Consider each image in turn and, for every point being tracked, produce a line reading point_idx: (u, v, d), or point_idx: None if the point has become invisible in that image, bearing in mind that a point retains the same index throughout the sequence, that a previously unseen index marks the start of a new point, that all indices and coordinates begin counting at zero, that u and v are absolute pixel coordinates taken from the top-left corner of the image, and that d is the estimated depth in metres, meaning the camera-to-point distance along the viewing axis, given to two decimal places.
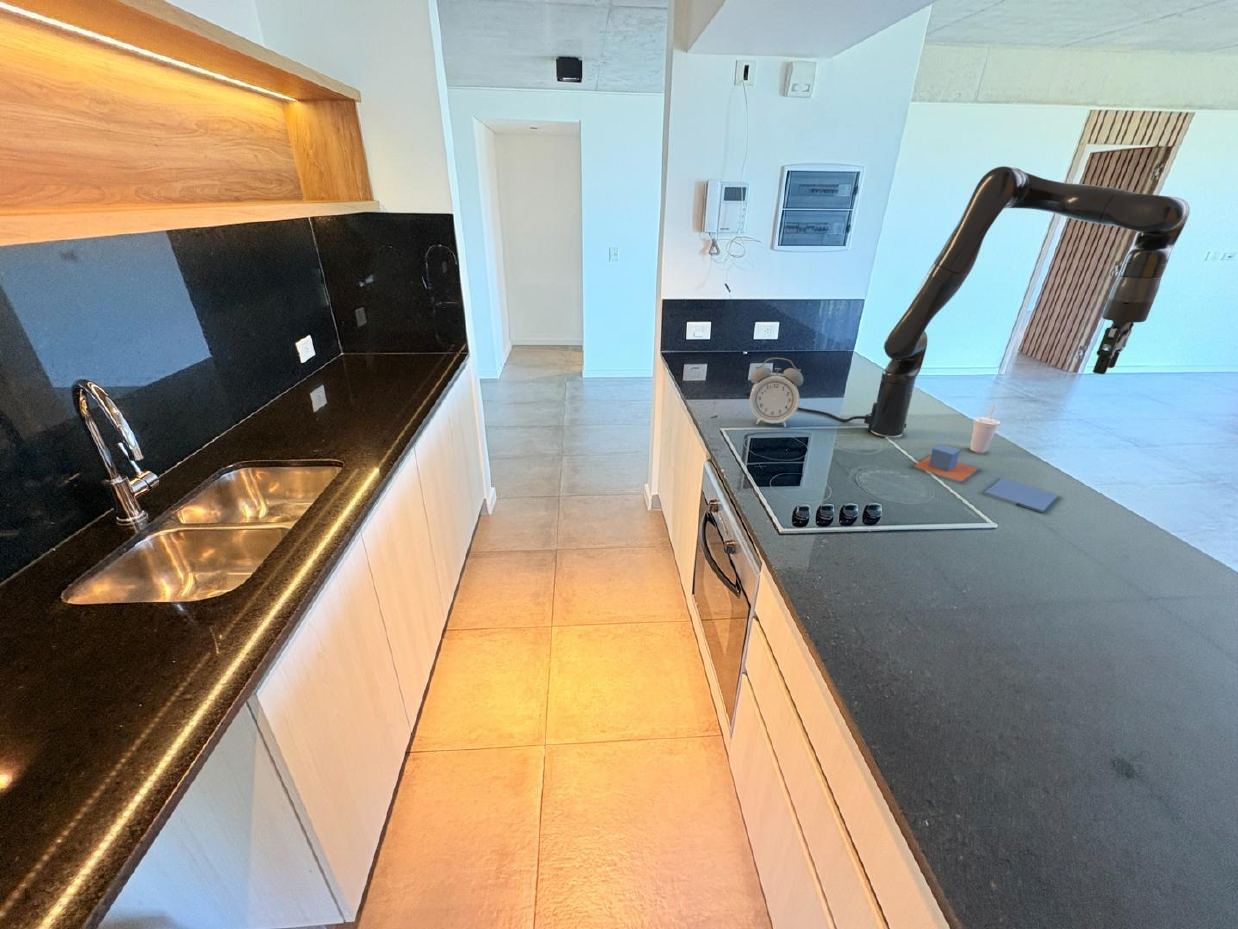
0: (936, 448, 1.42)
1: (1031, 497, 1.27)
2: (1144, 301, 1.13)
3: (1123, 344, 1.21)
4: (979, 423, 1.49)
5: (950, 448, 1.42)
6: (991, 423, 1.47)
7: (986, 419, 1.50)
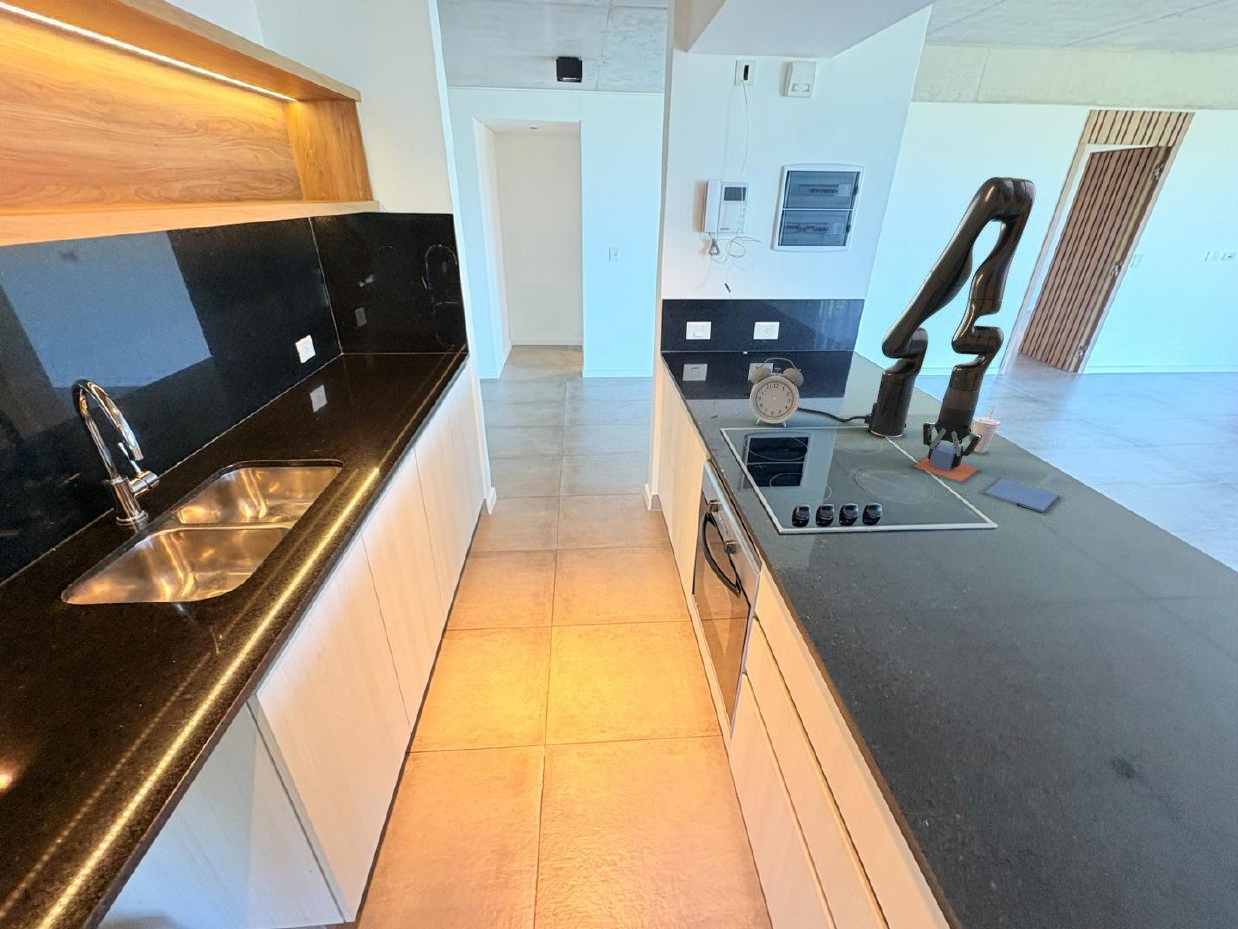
0: (936, 448, 1.42)
1: (1031, 497, 1.27)
2: (943, 404, 1.36)
3: None
4: (979, 423, 1.49)
5: (950, 448, 1.42)
6: (991, 423, 1.47)
7: (986, 419, 1.50)
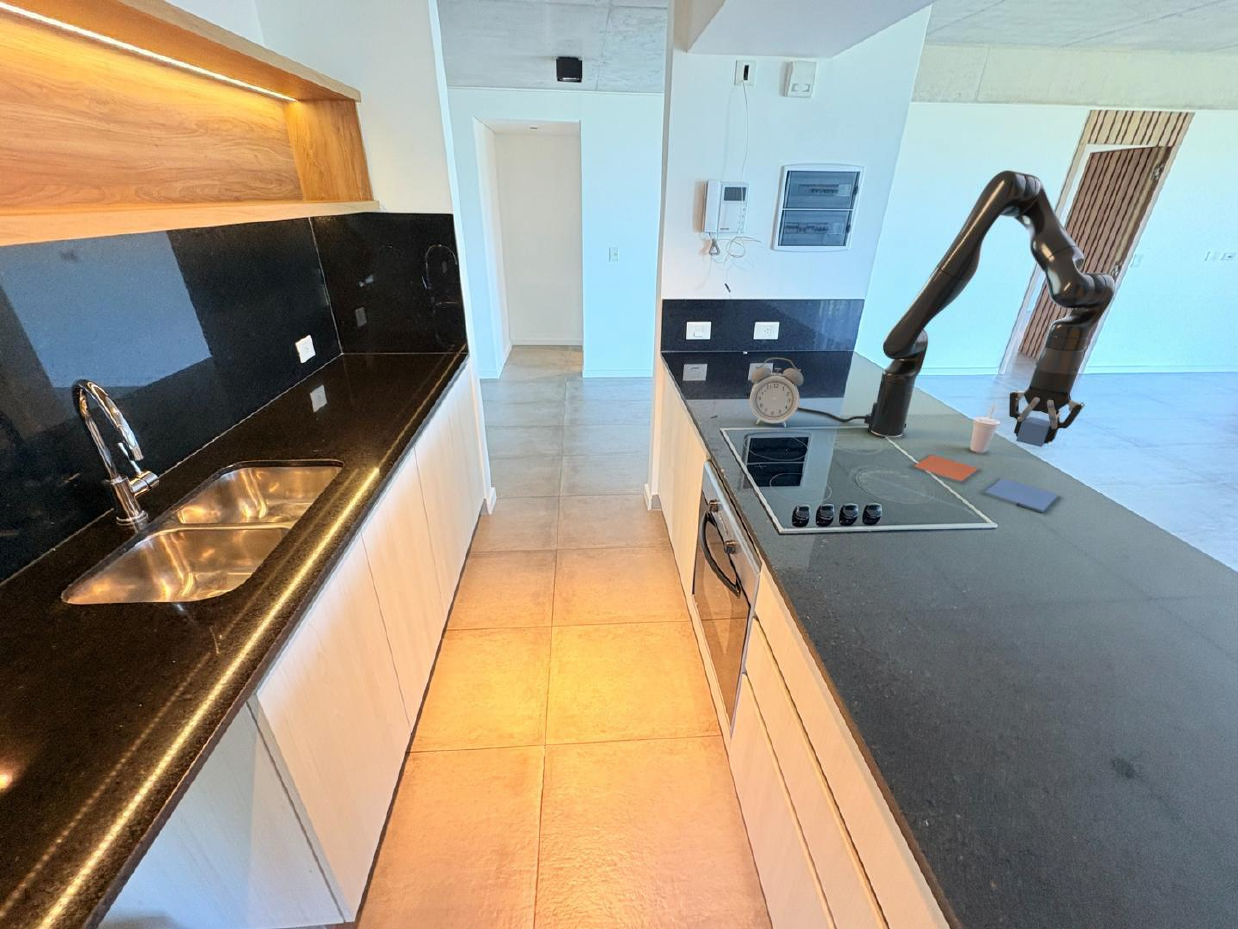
0: (1026, 420, 1.23)
1: (1031, 497, 1.27)
2: (1038, 368, 1.18)
3: None
4: (979, 423, 1.49)
5: (1041, 420, 1.23)
6: (991, 423, 1.47)
7: (986, 419, 1.50)
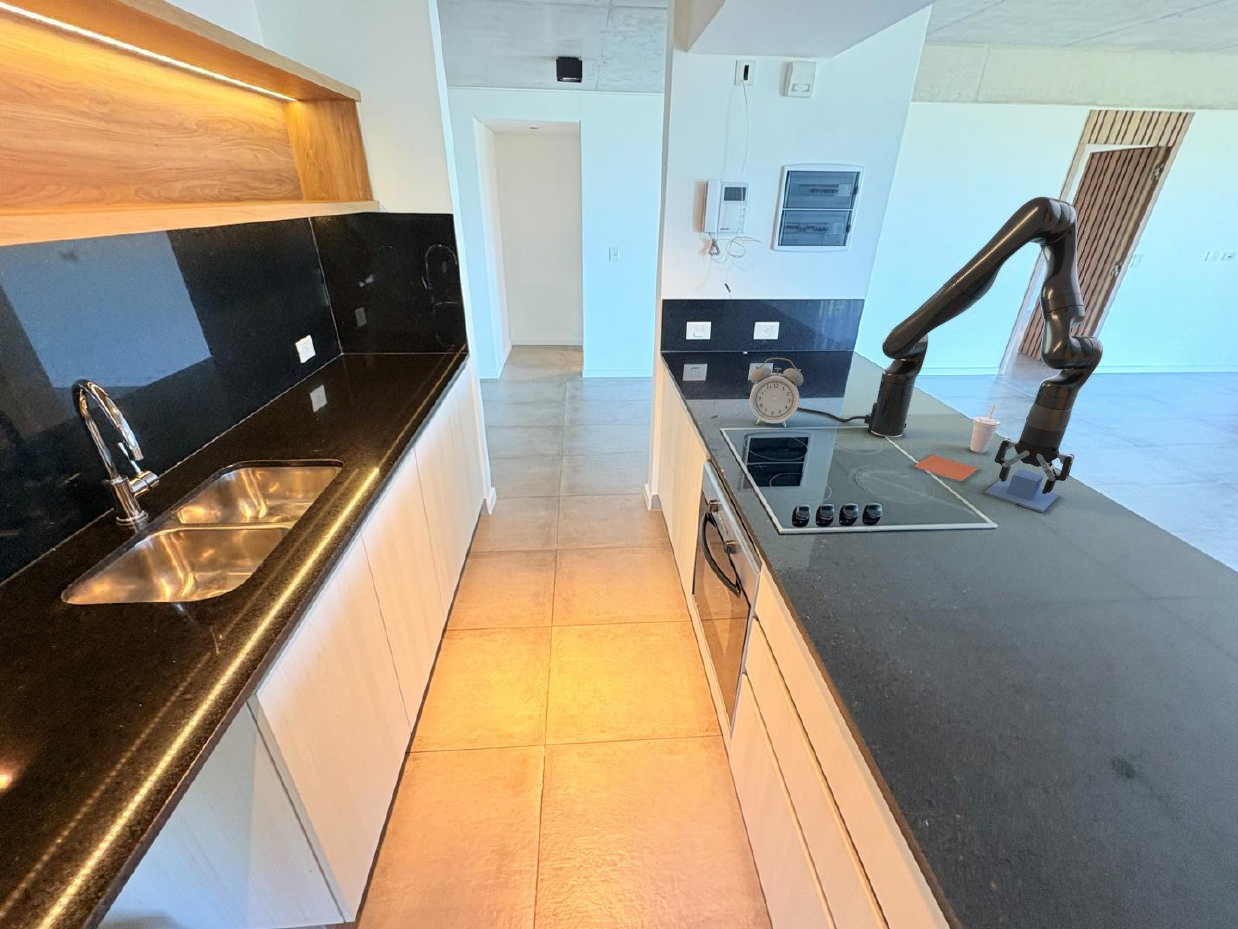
0: (1017, 473, 1.27)
1: None
2: (1028, 424, 1.22)
3: None
4: (979, 423, 1.49)
5: (1031, 473, 1.27)
6: (991, 423, 1.47)
7: (986, 419, 1.50)
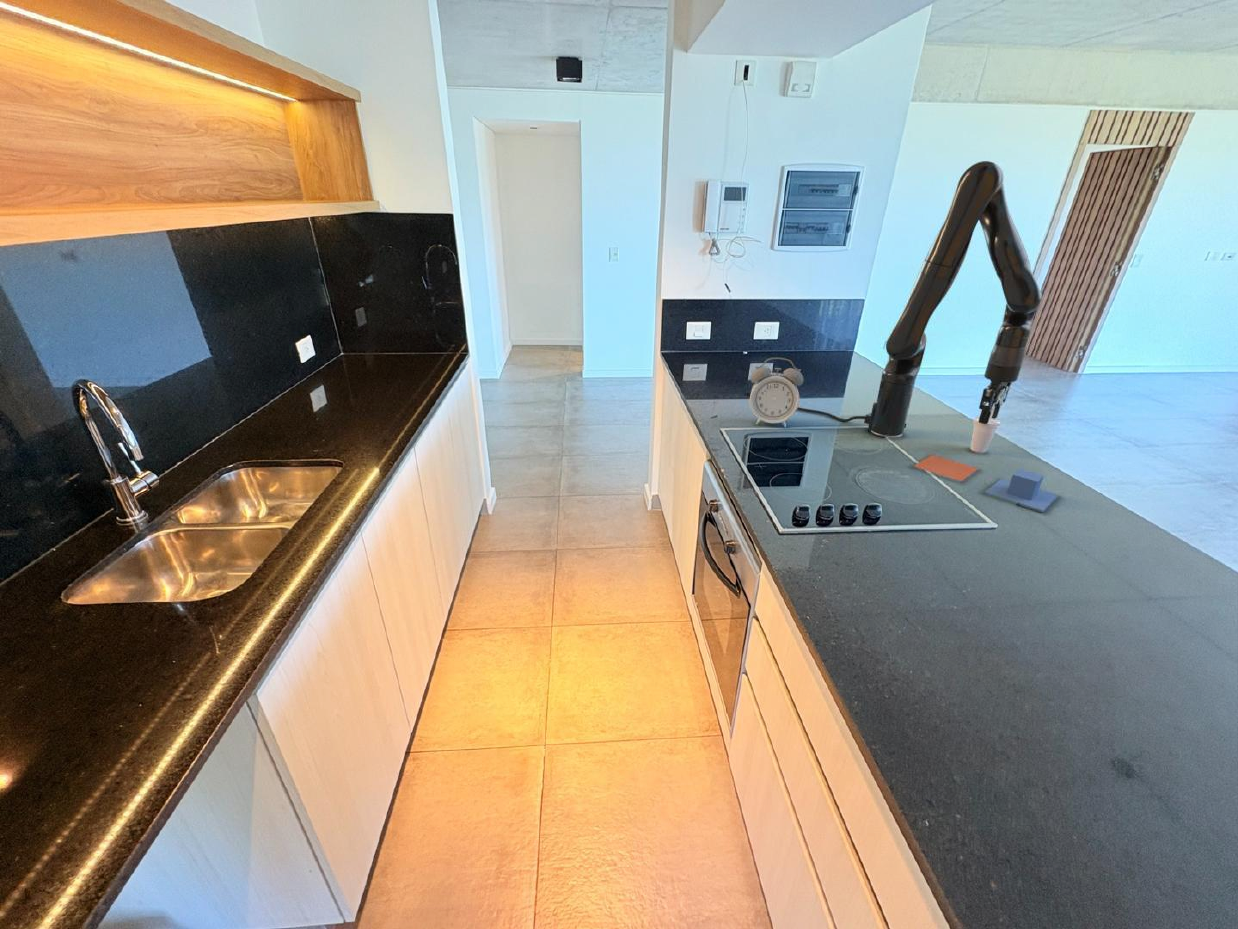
0: (1017, 473, 1.27)
1: None
2: (1012, 366, 1.39)
3: (1002, 399, 1.47)
4: (979, 423, 1.49)
5: (1031, 473, 1.27)
6: (991, 423, 1.48)
7: None
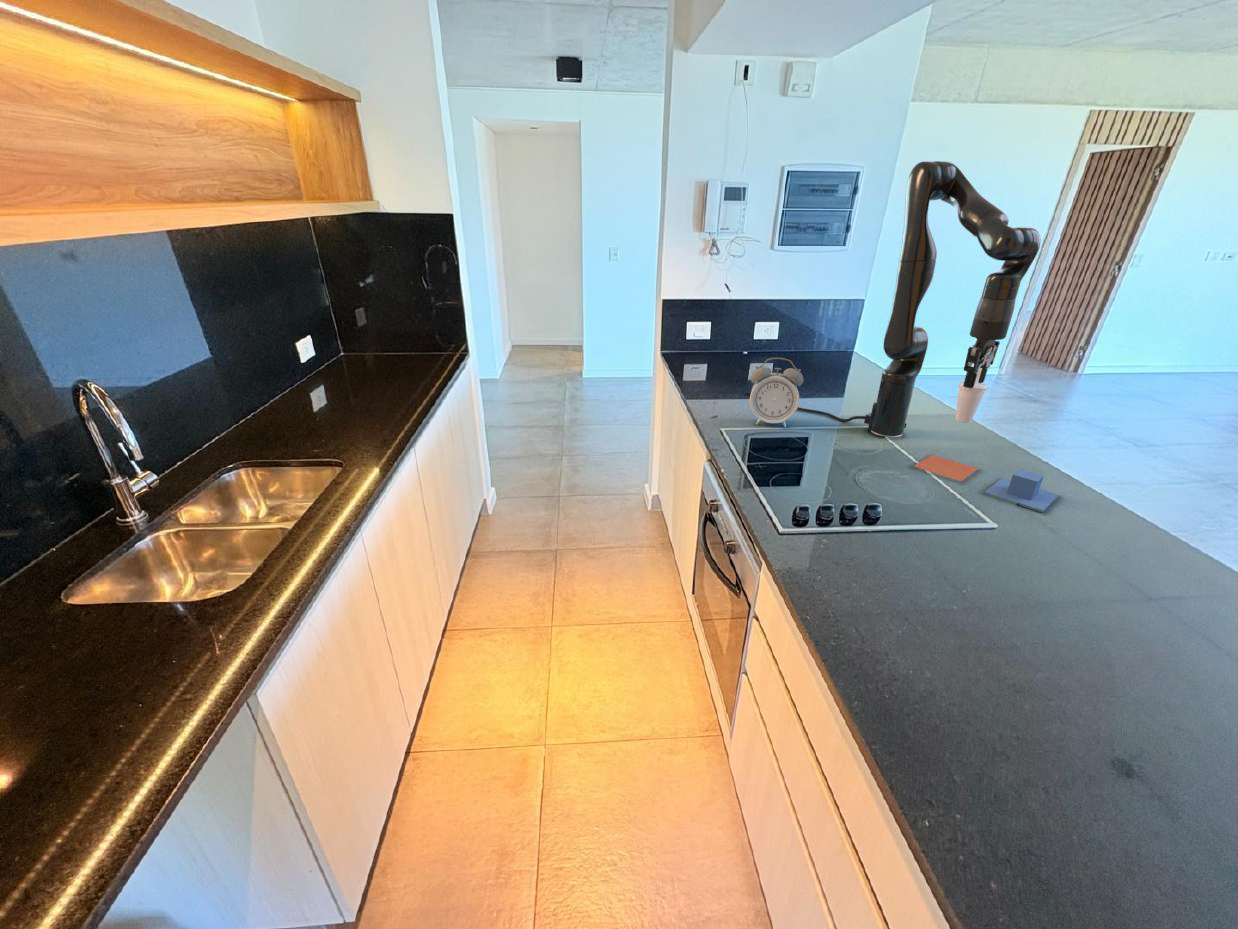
0: (1017, 473, 1.27)
1: None
2: (1000, 321, 1.24)
3: (989, 360, 1.32)
4: (965, 387, 1.34)
5: (1031, 473, 1.27)
6: (978, 387, 1.33)
7: None
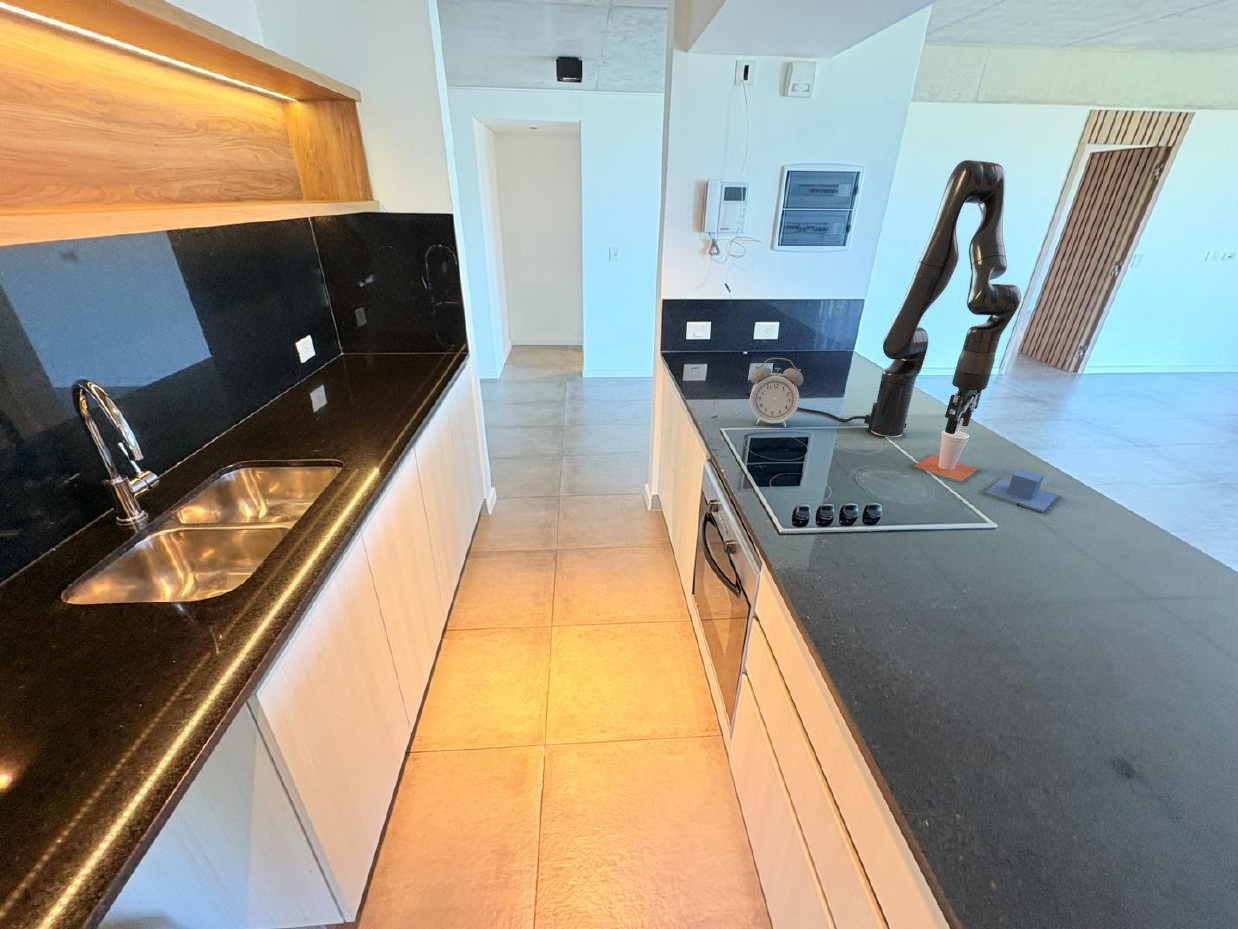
0: (1017, 473, 1.27)
1: None
2: (981, 373, 1.28)
3: (972, 407, 1.36)
4: (947, 437, 1.38)
5: (1031, 473, 1.27)
6: (959, 437, 1.36)
7: None
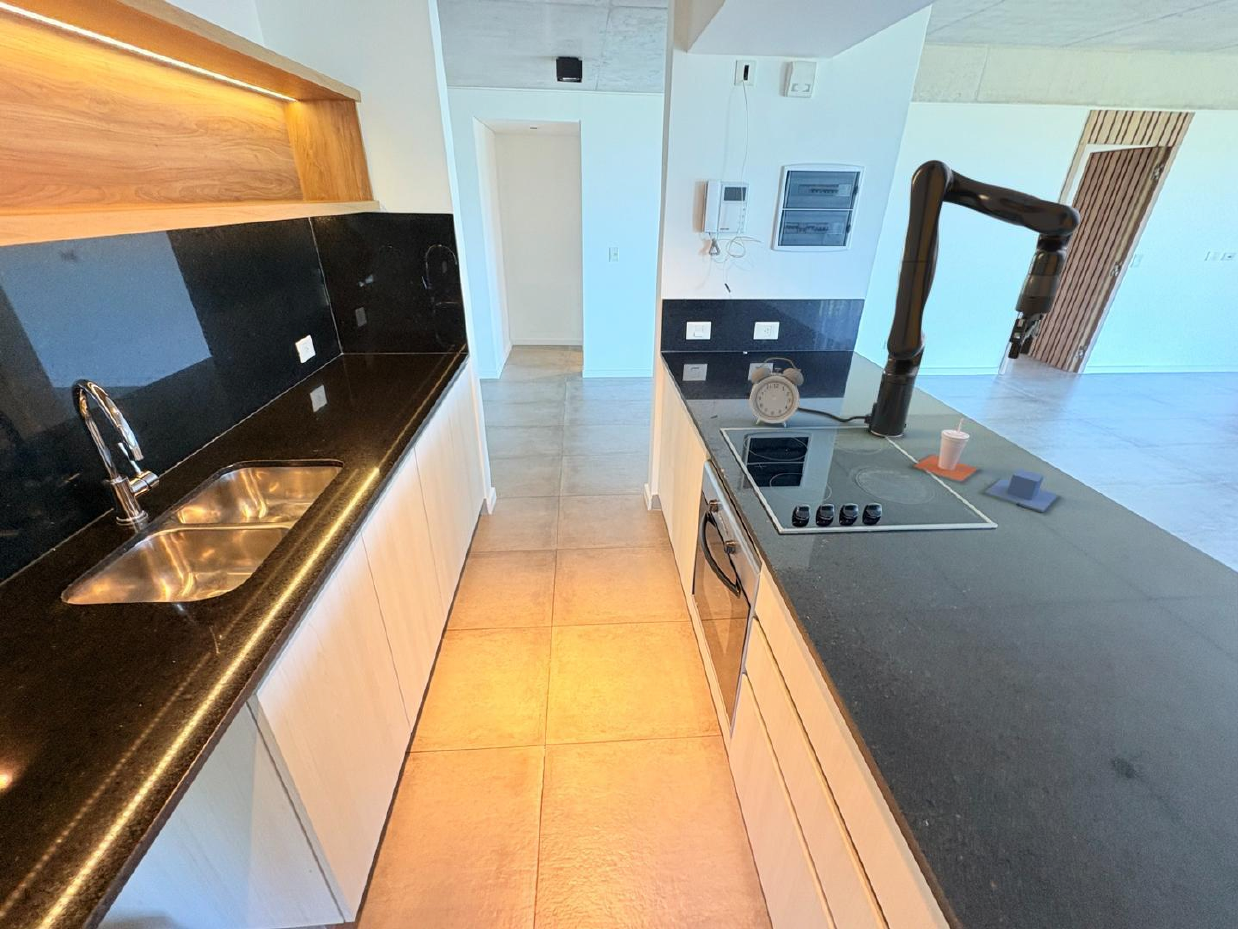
0: (1017, 473, 1.27)
1: None
2: (1047, 295, 1.31)
3: (1034, 333, 1.40)
4: (947, 437, 1.38)
5: (1031, 473, 1.27)
6: (959, 437, 1.36)
7: (955, 432, 1.39)
